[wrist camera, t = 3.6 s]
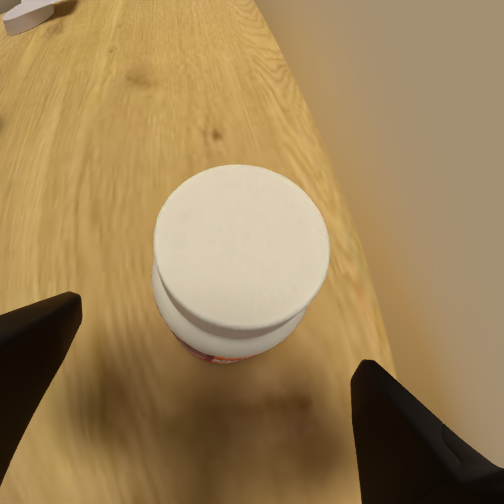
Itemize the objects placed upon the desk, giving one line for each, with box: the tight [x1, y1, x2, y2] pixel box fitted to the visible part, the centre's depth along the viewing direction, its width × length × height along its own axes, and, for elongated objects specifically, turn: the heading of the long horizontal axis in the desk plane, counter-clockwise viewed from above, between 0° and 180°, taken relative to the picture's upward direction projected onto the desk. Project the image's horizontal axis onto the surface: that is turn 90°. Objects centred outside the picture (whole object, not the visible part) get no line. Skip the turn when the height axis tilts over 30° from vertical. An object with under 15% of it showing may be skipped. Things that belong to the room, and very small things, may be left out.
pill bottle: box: [152, 165, 330, 364], centre depth 14 cm, size 6×6×11 cm
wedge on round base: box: [3, 0, 61, 35], centre depth 28 cm, size 9×7×13 cm
